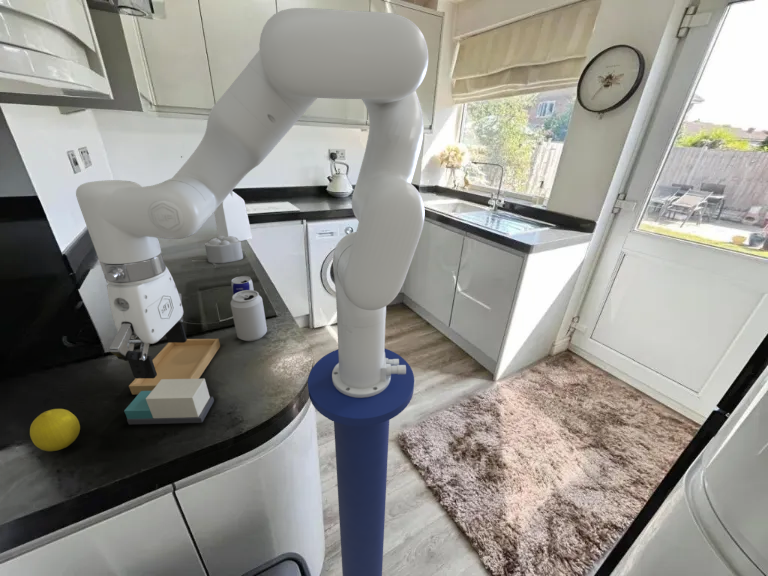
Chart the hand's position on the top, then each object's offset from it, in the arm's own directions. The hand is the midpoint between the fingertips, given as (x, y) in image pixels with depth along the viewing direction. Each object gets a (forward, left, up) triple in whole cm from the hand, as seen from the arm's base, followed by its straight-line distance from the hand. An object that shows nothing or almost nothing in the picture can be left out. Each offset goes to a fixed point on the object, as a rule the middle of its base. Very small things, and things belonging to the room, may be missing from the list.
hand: (163, 358), depth 56 cm
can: (-5, -26, -13) cm, 30 cm away
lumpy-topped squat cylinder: (+23, -83, -13) cm, 87 cm away
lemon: (+16, +7, -13) cm, 22 cm away
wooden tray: (+7, -13, -13) cm, 20 cm away
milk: (+29, -111, -13) cm, 116 cm away
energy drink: (-1, -35, -13) cm, 37 cm away
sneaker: (+2, 0, -13) cm, 13 cm away
